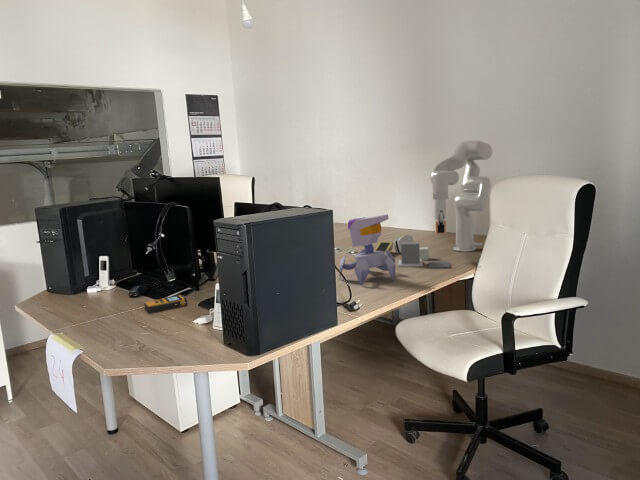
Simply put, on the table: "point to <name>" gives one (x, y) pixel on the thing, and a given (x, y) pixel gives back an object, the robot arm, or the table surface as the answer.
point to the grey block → (423, 253)
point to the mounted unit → (410, 255)
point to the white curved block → (402, 239)
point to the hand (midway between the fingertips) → (440, 231)
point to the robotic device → (368, 248)
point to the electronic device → (165, 303)
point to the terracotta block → (437, 227)
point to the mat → (439, 264)
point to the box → (384, 247)
